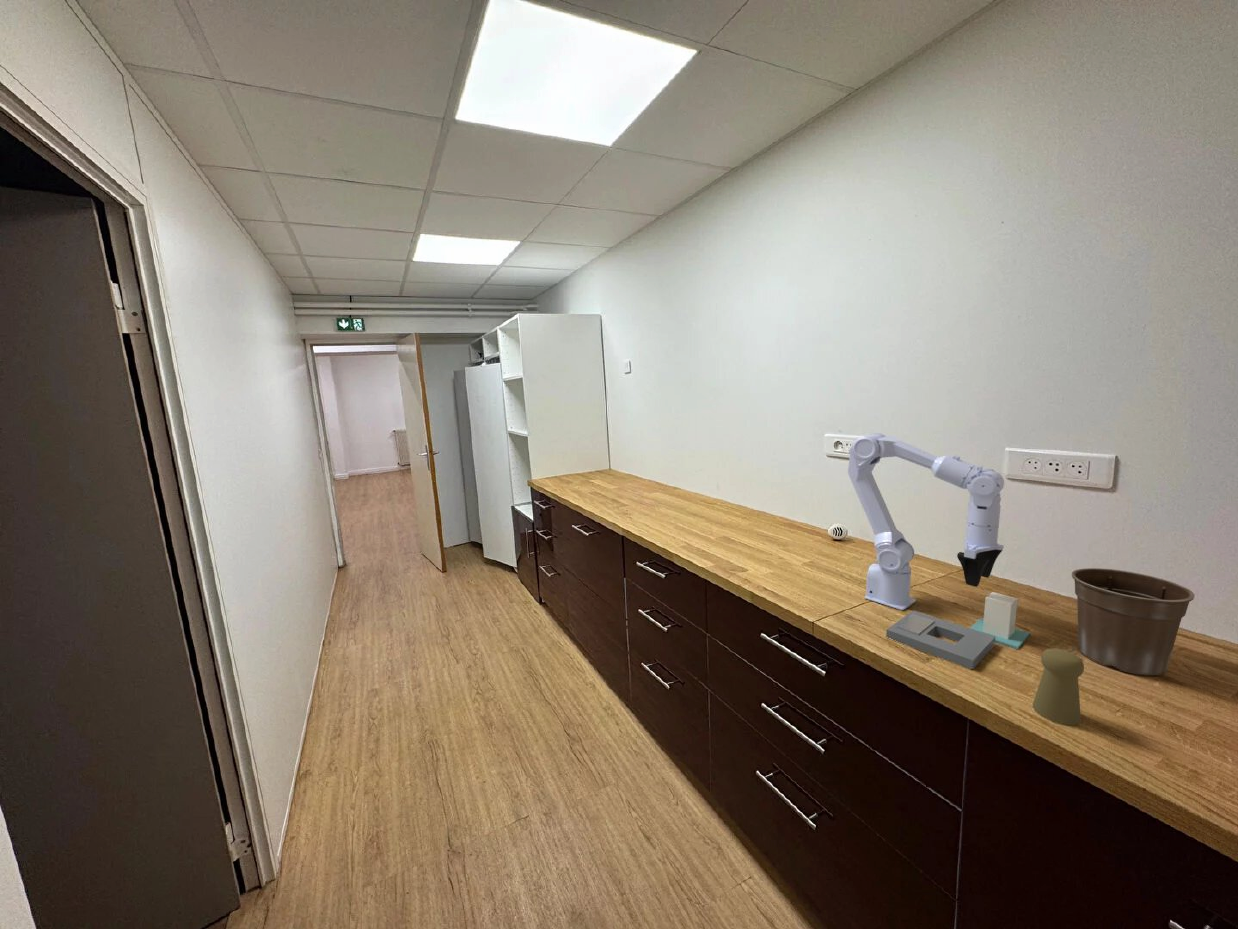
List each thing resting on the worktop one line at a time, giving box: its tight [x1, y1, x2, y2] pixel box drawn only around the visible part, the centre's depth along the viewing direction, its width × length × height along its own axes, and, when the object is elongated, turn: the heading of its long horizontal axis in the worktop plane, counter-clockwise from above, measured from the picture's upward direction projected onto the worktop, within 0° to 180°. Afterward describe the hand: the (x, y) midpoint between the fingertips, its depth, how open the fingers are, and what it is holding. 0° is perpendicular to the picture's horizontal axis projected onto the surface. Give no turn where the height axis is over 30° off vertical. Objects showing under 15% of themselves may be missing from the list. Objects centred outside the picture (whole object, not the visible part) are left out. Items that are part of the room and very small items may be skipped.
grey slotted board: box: [885, 610, 996, 670], centre depth 102 cm, size 16×14×2 cm
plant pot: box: [1071, 567, 1196, 676], centre depth 93 cm, size 16×16×16 cm
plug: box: [983, 591, 1019, 639], centre depth 104 cm, size 4×4×8 cm
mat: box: [969, 618, 1030, 650], centre depth 105 cm, size 9×9×1 cm
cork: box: [1032, 648, 1085, 727], centre depth 79 cm, size 6×6×11 cm
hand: (977, 580), depth 108 cm, fingers open, 7 cm apart
